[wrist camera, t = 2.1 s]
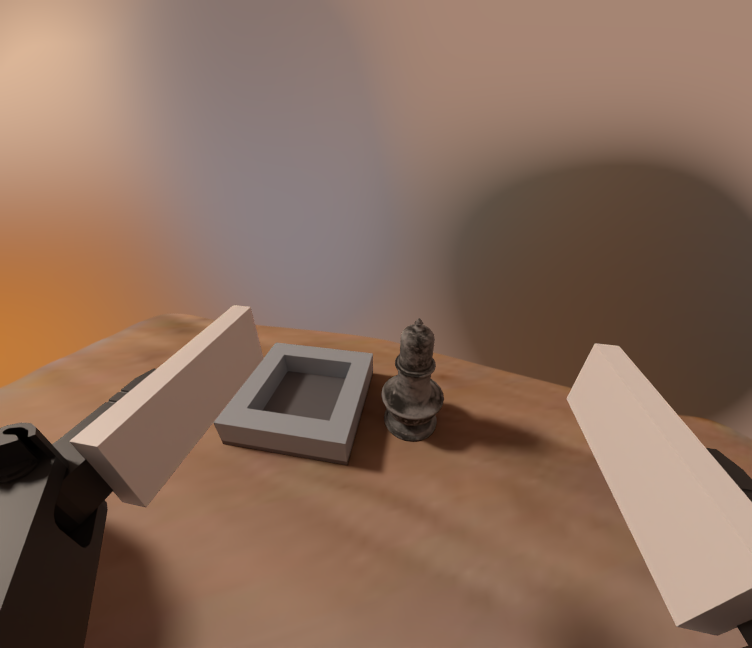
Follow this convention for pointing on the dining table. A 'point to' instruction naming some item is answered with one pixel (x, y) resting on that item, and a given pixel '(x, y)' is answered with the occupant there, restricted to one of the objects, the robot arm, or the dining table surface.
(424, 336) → the salt shaker
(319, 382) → the socket block
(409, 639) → the dining table surface
